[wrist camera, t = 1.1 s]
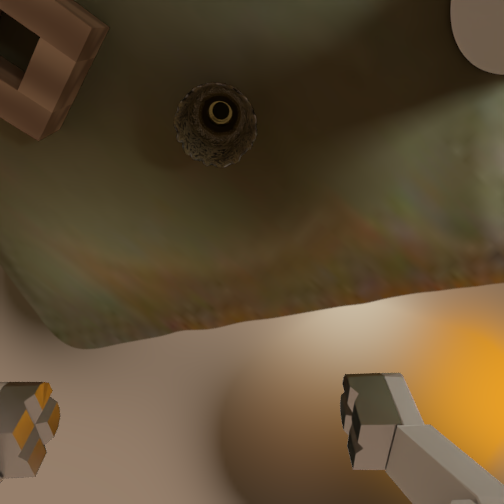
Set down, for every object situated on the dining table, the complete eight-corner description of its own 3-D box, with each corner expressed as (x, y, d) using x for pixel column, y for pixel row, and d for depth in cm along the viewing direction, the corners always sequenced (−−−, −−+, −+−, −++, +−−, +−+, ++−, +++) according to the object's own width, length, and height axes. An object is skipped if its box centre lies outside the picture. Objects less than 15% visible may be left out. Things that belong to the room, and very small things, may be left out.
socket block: (-16, -67, 35) (-54, -80, 30) (109, 27, 38) (92, 27, 34) (-55, 56, 39) (-93, 60, 35) (59, 129, 43) (38, 141, 39)
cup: (219, 159, 45) (214, 183, 38) (171, 107, 42) (156, 124, 35) (269, 114, 42) (274, 131, 35) (222, 56, 40) (217, 63, 33)
